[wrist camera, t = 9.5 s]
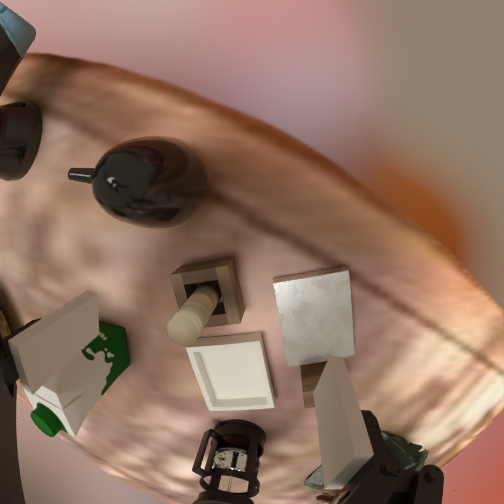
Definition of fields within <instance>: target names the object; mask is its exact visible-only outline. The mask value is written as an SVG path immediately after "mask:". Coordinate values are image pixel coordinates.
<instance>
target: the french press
mask: <svg viewBox="0 0 504 504" xmlns="http://www.w3.org/2000/svg"><path fill="white" fill-rule="evenodd" d="M223 435H241V436H245V437H248V438H250V440H249V447H245V448H240V447H234V446H231V445H229V444H227V443H225V442H224V441H223V440H222V439H221V437H220V436H223ZM209 437H212V442H211V449H210V452H209V456H208V459H207V462H206V466H205V469H204V470H203V469H202V468H201V463H202V460H203V457H204V453H205V450H206V447H207V444H208V440H209ZM265 441H266V435H265V433H264V431H263V430H262V429H261V428H260V427H259V426H257V425H255V424H253V423H251V422H248V421H243V420H226V421H223V422H221V423H219V424H217V425H216V426H215V428H214V430H213V429H209V430H208V431H206V432H205V433H204V435H203V438H202V441H201V444H200V447H199V450H198V453H197V456H196V459H195V462H194V465H193V468H192V471H193V472H195V473H196V474H198V475H200V476H201V479H200V485H201V487H202V488H203V489H205V490H206V491H203V492H201V493H200V494H199V496H198V499H197V500H196V501H194V502H193V504H254V502H253V501H252V500H251V499H249V498H251V497H253V496H255V495H257V494H258V493H259V487H260V483H259V481H258V479H257V474H258V468H259V467H260V461H259V458H260V457H261V456H262V454H263V450H264V443H265ZM212 466H214V468H213V469H212ZM221 475H225V476H230V480H229V484H228V489H227V491H222V490H219V489H218V487H219V483H220V479H221ZM207 476H211V480H210V483H209V485H208V484H207V483H206V482H205V481H204V479H203V478H205V477H207ZM232 477H237V478H241V479H244V480H246V481H249V485H248V491H247V492H244V493H232V492H230V487H231V482H232ZM256 487H257V488H256Z"/></svg>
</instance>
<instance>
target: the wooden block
mask: <svg viewBox="0 0 504 504" xmlns="http://www.w3.org/2000/svg"><path fill="white" fill-rule="evenodd" d="M326 363H327V362H321V363H315V364H309V365H303V366H301V377H302V389H303V398H304V405H305V408H311V407H315V403H314V396H313V392H314V390H315V388H316V386H317V384H318V382H319V379H320V377H321V375H322V373H323V370H324V368H325V366H326Z"/></svg>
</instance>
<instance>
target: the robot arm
mask: <svg viewBox="0 0 504 504" xmlns="http://www.w3.org/2000/svg"><path fill="white" fill-rule="evenodd" d="M35 36H36V30H35V28H34V27H33V26H32V25H30V24H29V23H28V22H27V21H25V20H24V19H23V18H21V17H20V16H19V15H18V14H16V13H15V12H13V11H12V10H11V9H9V8H8V7H6V6H5V5H3V4H2V3H1V2H0V96H1V94H2V92H3V90H4V89H5V87H6V85H7V83H8V81H9V80H10V78H11V76H12V74H13V73H14V71H15V70H16V68H17V66H18V65H19V63H20V62H21V60H23V58H24V55H25V53H26V52H27V50H28V48H29V47H30V45H31V44H32V42H33V41H34V39H35ZM41 129H42V120H41V113H40V110H39V108H38V107H37V105H36V104H34V103H31V102H27V101H20V102H15V103H10V104H6V105H1V106H0V179H2V180H6V181H13V180H18V179H20V178H22V177H23V176H24V175H25V174H26V172H27V171H28V170H29V168H30V166H31V165H32V163H33V160H34V158H35V156H36V153H37V150H38V146H39V142H40V137H41ZM98 335H99V318H98V294H96V293H93V292H91V291H86V292H85V293H83V294H81V295H80V296H78V297H76V298H75V299H73V300H71V301H70V302H68V303H66V304H65V305H63V306H62V307H60V308H58V309H57V310H55V311H53V312H52V313H50V314H49V315H47V316H45V317H44V318H42V319H41V318H39V319H36V320H32V321H30V322H29V323H27V324H26V325H25V326H22V327H21V328H20V329H18V330H16V331H15V332H13V333H11V334H10V335H8V336H7V337H5V338H4V339H2V335H1V331H0V504H26V503H25V499H24V494H23V489H22V483H21V477H20V470H19V463H18V462H19V461H18V451H17V435H16V397H17V384H16V381H17V380H18V379H20V382H21V384H22V387H23V388H24V389H25V390H27V391H28V392H29V393H31V394H32V395H33V394H34V393H35V392H36V391H37V390H38V389H39V388H40V387H42V386H43V385H44V384H45V383H46V382H47V381H48V380H49V379H50V378H51V377H52V376H53V375H54V374H56V373H57V372H58V371H59V370H60V369H61V368H62V367H63V366H64V365H65V364H66V363H68V362H69V361H70V360H71V359H72V358H73V357H74V356H75V355H76V354H78V353H79V352H80V351H81V350H82V349H83V348H84V347H85V346H87V345H88V344H89V343H90V342H91V341H92V340H93V339H95V338H96V337H97V336H98ZM313 396H314V403H315V410H316V418H317V426H318V434H319V443H320V452H321V461H322V470H323V481H324V489H342V488H343V487H344V486H345V485H346V484H347V483H348V487H349V490H348V491H347V492H346V493H345V494H344V495H343V496H342V497H341V498H340V499H338V500H339V501H338V502H337V504H442V496H443V484H444V476H443V472H442V471H441V469H440V468H438V467H437V466H435V465H425V466H423V467H422V468H421V469H420V470H419V471H414V470H408V469H403V468H402V466H401V464H400V463H399V462H398V461H396V460H395V459H392V458H390V456H389V453H388V450H387V447H386V444H385V441H384V438H383V435H382V434H381V433H382V432H381V429H380V428H379V424H378V421H377V418H376V417H375V416H374V415H373V413H372V412H371V411H367V410H360V407H359V403H358V400H357V397H356V394H355V391H354V388H353V385H352V382H351V379H350V376H349V373H348V370H347V367H346V364H345V362H344V359H343V357H337V356H331V355H330V356H329V359H328V361H327V363H326V366H325V368H324V370H323V373H322V375H321V377H320V379H319V382H318V384H317V386H316V388H315V390H314V392H313Z"/></svg>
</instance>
